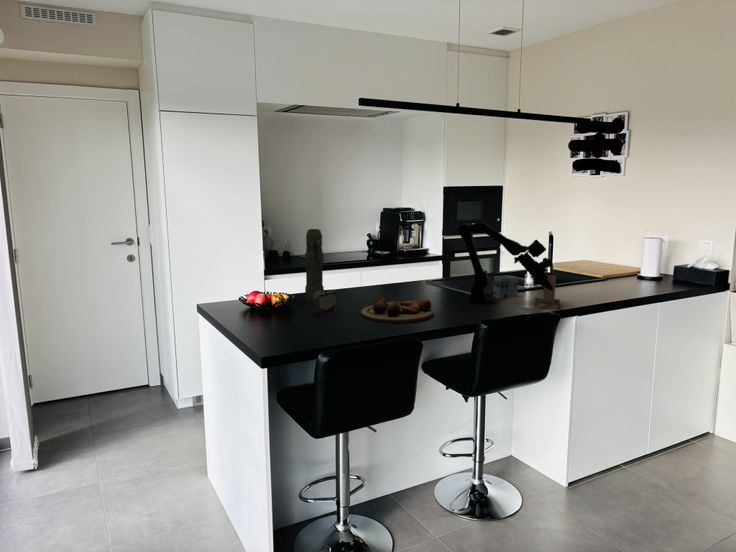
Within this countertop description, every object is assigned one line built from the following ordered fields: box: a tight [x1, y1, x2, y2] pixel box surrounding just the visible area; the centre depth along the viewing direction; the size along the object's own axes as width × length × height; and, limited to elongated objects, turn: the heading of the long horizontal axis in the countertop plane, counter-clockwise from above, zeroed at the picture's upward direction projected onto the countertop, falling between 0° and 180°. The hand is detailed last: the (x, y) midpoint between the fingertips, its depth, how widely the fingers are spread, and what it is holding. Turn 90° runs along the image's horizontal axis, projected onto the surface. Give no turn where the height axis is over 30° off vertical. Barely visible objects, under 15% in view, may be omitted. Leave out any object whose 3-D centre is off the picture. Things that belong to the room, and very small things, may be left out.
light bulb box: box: [492, 275, 519, 300], centre depth 286 cm, size 11×7×11 cm, turn 105°
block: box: [542, 274, 557, 303], centre depth 263 cm, size 5×5×12 cm
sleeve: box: [534, 297, 561, 311], centre depth 265 cm, size 11×14×3 cm
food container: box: [314, 289, 338, 317], centre depth 249 cm, size 12×6×10 cm, turn 141°
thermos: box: [304, 228, 325, 304], centre depth 272 cm, size 9×12×35 cm
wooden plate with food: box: [360, 296, 434, 324], centre depth 248 cm, size 32×32×8 cm
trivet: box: [513, 307, 539, 314], centre depth 256 cm, size 11×11×1 cm
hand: (552, 288), depth 263 cm, fingers closed on block, 5 cm apart
